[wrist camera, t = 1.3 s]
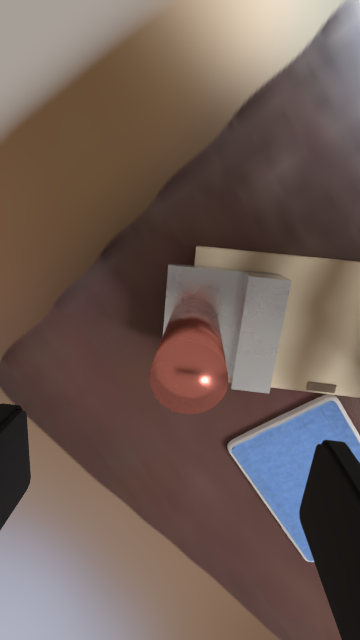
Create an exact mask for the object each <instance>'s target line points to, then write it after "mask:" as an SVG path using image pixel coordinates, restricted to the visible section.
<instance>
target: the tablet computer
mask: <svg viewBox="0 0 360 640" xmlns="http://www.w3.org/2000/svg"><path fill="white" fill-rule="evenodd" d="M324 440H333V441H341V442H345V443H346V444H347V446H348V447H349V448H350V450H351V451H352V453H353V454H354V456H355V457H356V458H357V460H358V461H359V463H360V435H359V433H358V432H357V430H356V428H355V427H354V425H353V423H352V421H351V420H350V418H349V416H348V414H347V413H346V411H345V409H344V408H343V406H342V404H341V402H340V401H339V399H338V398H337V397H336V396H335V395H332V394H325V395H323V396H320V397H318V398H316V399H314V400H312V401H310V402H307V403H305V404H303V405H301V406H299V407H297V408H295V409H293V410H291V411H289V412H287V413H285V414H282V415H280V416H278V417H276V418H274V419H272V420H270V421H268V422H266V423H264V424H262V425H260V426H258V427H256V428H254V429H252V430H250V431H248V432H246V433H244V434H242V435H240V436H238V437H236V438H234V439H232V440H231V441H230V442H229V443H228V445H227V448H228V451H229V453H230V454H231V456H232V457H233V459H234V460H235V462H236V463H237V464H238V466H239V467H240V469H241V470H242V472H243V473H244V474H245V476H246V477H247V479H248V480H249V482H250V483H251V484H252V486H253V487H254V489H255V490H256V492H257V493H258V494H259V496H260V497H261V499H262V500H263V502H264V503H265V504H266V506H267V507H268V509H269V510H270V511H271V513H272V514H273V516H274V517H275V518H276V520H277V521H278V523H279V524H280V525H281V527H282V529H283V530H284V532H285V533H286V534H287V536H288V537H289V539H290V540H291V541H292V542H293V544H294V545H295V547H296V548H297V549H298V551H299V552H300V554H301V555H302V556H303V558H304V559H305V560H306V561H309V562H314V559H313V556H312V554H311V551H310V548H309V545H308V542H307V539H306V537H305V534H304V531H303V528H302V525H301V522H300V517H299V510H300V505H301V502H302V498H303V494H304V490H305V486H306V483H307V479H308V475H309V471H310V468H311V464H312V460H313V456H314V453H315V449H316V446H317V445H318V444H322V442H323V441H324Z"/></svg>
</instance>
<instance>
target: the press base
mask: <svg viewBox="0 0 360 640" xmlns="http://www.w3.org/2000/svg"><path fill="white" fill-rule="evenodd" d="M194 265H196V266H206V267H216V268H226V269H236V270H246V271H256V272H266V273H276V274H280V275H282V276H284V277H286V278H288V279H289V280H291V286H290V291H289V296H288V301H287V306H286V311H285V316H284V321H283V326H282V331H281V336H280V342H279V347H278V352H277V357H276V362H275V367H274V372H273V377H272V382H271V387H272V388H281V389H289V390H298V391H307V392H315V393H324V394H332V395H341V396H349V397H358V398H360V262H359V261H349V260H338V259H328V258H318V257H307V256H297V255H287V254H276V253H266V252H256V251H245V250H235V249H225V248H215V247H204V246H196V254H195V264H194ZM228 382H229V383H230V379H229V377H228Z"/></svg>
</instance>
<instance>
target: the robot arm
mask: <svg viewBox="0 0 360 640" xmlns="http://www.w3.org/2000/svg"><path fill="white" fill-rule="evenodd" d="M30 478H31V475H30V460H29V445H28V430H27V415H26V412H25V411H22V408H21V406H19V405H11V404H0V530H1V528H2V527H3V525H4V524H5V522H6V521H7V519H8V518H9V516H10V514H11V513H12V511H13V510H14V509H15V507H16V505H17V504H18V502H19V501H20V499H21V498H22V496H23V495H24V493H25V492H26V490H27V488H28V486H29V483H30ZM299 517H300V522H301V525H302V528H303V531H304V534H305V537H306V539H307V542H308V545H309V548H310V551H311V554H312V556H313V559H314V562H315V565H316V568H317V570H318V573H319V576H320V579H321V582H322V585H323V587H324V590H325V593H326V596H327V599H328V601H329V604H330V607H331V610H332V613H333V616H334V618H335V621H336V624H337V627H338V630H339V633H340V635H341V638H342V640H360V463H359V461H358V460H357V458H356V457H355V456H354V454H353V453H352V451H351V450H350V448H349V447H348V446H347V444H346V443H345V442H341V441H333V440H324V441H323V442H322V444H318V445H317V446H316V449H315V453H314V456H313V460H312V464H311V468H310V471H309V475H308V479H307V483H306V486H305V490H304V494H303V498H302V502H301V505H300V510H299Z"/></svg>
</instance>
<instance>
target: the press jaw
mask: <svg viewBox="0 0 360 640" xmlns="http://www.w3.org/2000/svg"><path fill="white" fill-rule="evenodd" d="M290 286H291V280H289V279H288V278H286V277H284V276H282V275H280V274H276V273H266V272H256V271H246V270H236V269H226V268H216V267H206V266H196V265H186V264H176V263H170V264H169V265H168V276H167V289H166V301H165V314H164V327H163V337H162V340H161V342H160V345H159V348H158V350H157V353H156V355H155V358H154V361H153V363H152V366H151V369H150V375H149V380H150V385H151V389H152V391H153V393H154V395H155V396H156V398H157V399H158V400H159V401H160V402H161V403H162V404H163V405H164V406H166V407H167V408H169V409H170V410H173V411H175V412H178V413H183V414H197V413H202V412H205V411H207V410H209V409H211V408H213V407H214V406H215V405H217V404H218V403H219V402H220V401H221V399H222V398H223V396H224V395H225V393H226V390H227V387H228V377H229V379H230V385H231V389H235V390H244V391H252V392H261V393H269V392H270V387H271V382H272V377H273V372H274V367H275V362H276V357H277V352H278V347H279V342H280V336H281V331H282V326H283V321H284V316H285V311H286V306H287V301H288V296H289V291H290Z"/></svg>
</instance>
